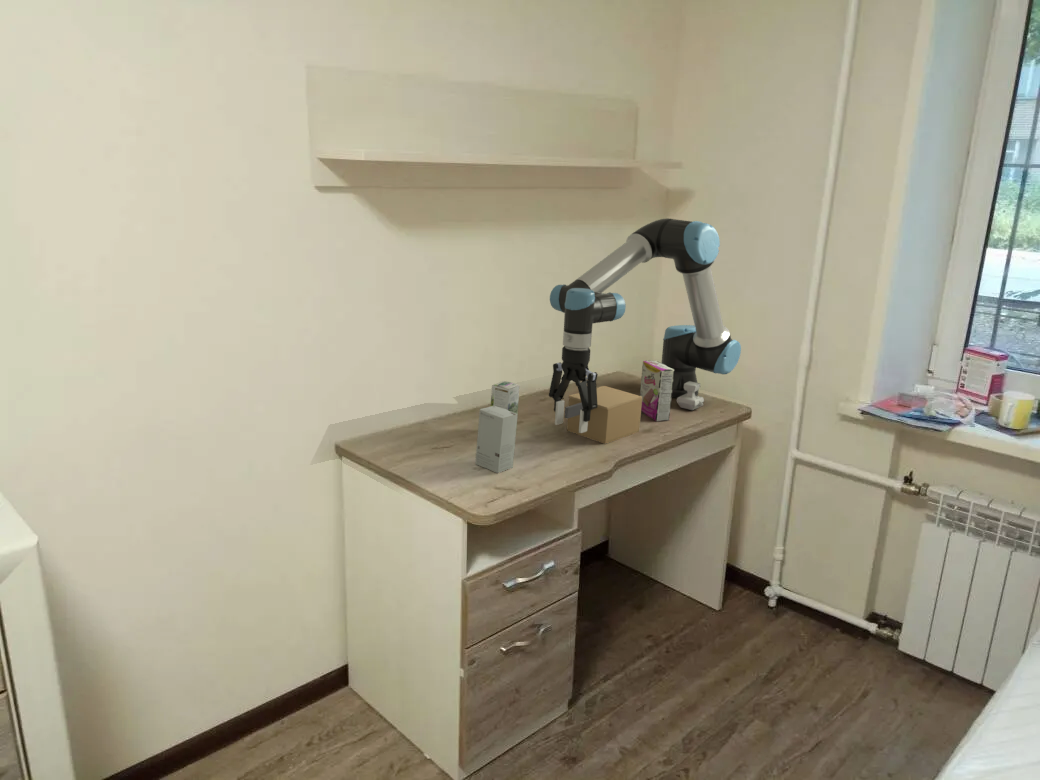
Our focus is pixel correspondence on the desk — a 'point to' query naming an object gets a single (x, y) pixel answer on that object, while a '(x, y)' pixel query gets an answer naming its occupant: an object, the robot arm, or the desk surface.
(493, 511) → the desk surface
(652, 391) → the candy bar box
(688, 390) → the stamp
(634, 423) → the carton
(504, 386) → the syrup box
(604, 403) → the flap
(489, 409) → the skincare box
